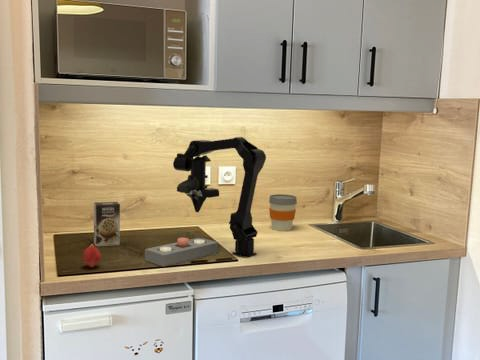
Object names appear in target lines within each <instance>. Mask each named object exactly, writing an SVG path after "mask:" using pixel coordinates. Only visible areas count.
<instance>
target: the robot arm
mask: <svg viewBox="0 0 480 360" xmlns="http://www.w3.org/2000/svg"><path fill="white" fill-rule="evenodd" d="M230 149H235V150H236V152H237V154H238V156H239V157H241V158H242V168H243V171H244V177H243V181H242V186H241V192H240V196H239V201H238V205H237V210H236V211H235V212H232V213H230V219H229V223H228V224H229V229H230V231H231V234H232V237H233V240H235V243H234V244H235V246H234V251H233V252H232V254H233V255H235V256H239V257H242V258H249V257H251V256H255V255H257V253H256V252H254V249H255V238H257V235H258V231H257V229H256V228H255V226H254V225H253V216H252V213H251V210H252V205H253V201H254V194H255V190H256V186H257V180H258V176H259V174H260V173H261V170H262V169H263V168H264V165H265V163H266V159H267V156H266V153H265V151H264V150H262V149H260V148H258V147H257V146H256V145H254V144H253V143H251V142H249V141H248V140H247V139H246V138H245V137H243V136H237V137H233V138H232V137H231V138H227V139H219V140H205V139H203V140H202V139H200V140H199V139H197V140H191V141H190V142H189V145H188V147H187V148H186V151H184V153H182V152H181V153H179V152H178V153H176V156H175V158H174V160H173V162H172V164H173V169H174V170H175V171H181V172H190V174H188V176H187V179H186V180H183V181H181V182H179V183H178V185H177V186H176V192H178V193H180V194H181V193H182V194H183V193H184V194H186V196H188V197H189V198H190V199H191V200H190V201H191V202H192V206H193V209H194V211H195V213H200V211H201V208H202V207H203V204H204V203H205V201H206V199H207V198H217V197H220V190H219V189H218V188H213V187H209V188H208V185H206V179H209V176H208V174H207V175H206V170H207V169H206V164H207V162H208V163H209V162H210V163H211V162H212V161H211V159H210V158H209V156H208V155H207V154H210V153H212V152H215V151H220V150H221V151H222V150H230Z"/></svg>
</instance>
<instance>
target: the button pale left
mask: <svg viewBox="0 0 480 360" xmlns="http://www.w3.org/2000/svg"><path fill="white" fill-rule="evenodd" d="M160 251H163V252H167V251H171V247H160Z"/></svg>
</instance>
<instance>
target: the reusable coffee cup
mask: <svg viewBox="0 0 480 360" xmlns="http://www.w3.org/2000/svg"><path fill="white" fill-rule="evenodd" d="M297 199H298V198H297V196H295V195H292V194H275V193H274V194H271V195H270V196H269V199H268V200H269V201H268V202H269V211H268V212H269V218H270V223H271V229H272V230H273V231H277V232H290V231H292V230H293V229H292V227H293V221H294V220H295V217H296V210H297V209H296V206H297Z"/></svg>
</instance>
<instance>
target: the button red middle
mask: <svg viewBox="0 0 480 360" xmlns="http://www.w3.org/2000/svg"><path fill="white" fill-rule="evenodd" d="M189 240H190V239H189V238H188V237H178V238H177V240H176V241H177V247H180V248H185V247H188V246H189Z"/></svg>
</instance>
